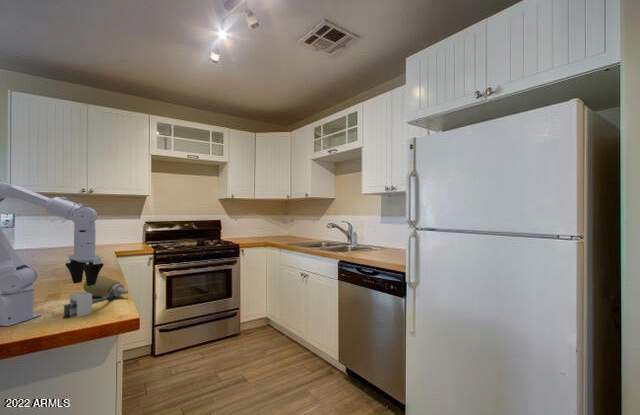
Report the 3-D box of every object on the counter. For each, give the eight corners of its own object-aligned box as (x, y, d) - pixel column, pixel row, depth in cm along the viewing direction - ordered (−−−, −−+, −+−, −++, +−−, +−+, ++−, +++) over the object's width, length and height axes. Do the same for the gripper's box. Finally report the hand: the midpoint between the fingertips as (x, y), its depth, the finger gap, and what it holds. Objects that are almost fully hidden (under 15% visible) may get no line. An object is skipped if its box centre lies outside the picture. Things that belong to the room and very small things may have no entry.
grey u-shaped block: (77, 317, 97) (78, 296, 97) (69, 314, 99) (69, 294, 100) (91, 313, 101) (92, 293, 101) (83, 310, 103) (83, 291, 103)
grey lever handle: (73, 319, 95) (74, 306, 95) (57, 317, 96) (57, 305, 96) (124, 300, 115) (124, 290, 115) (110, 299, 116) (110, 289, 116)
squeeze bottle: (96, 294, 124) (132, 302, 120) (77, 295, 117) (115, 303, 113) (102, 274, 126) (137, 281, 122) (83, 274, 118) (121, 281, 114)
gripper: (110, 243, 102) (110, 283, 102) (85, 241, 108) (84, 279, 108) (87, 245, 96) (87, 288, 96) (61, 243, 102) (61, 283, 102)
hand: (84, 284), depth 101 cm, fingers open, 7 cm apart
